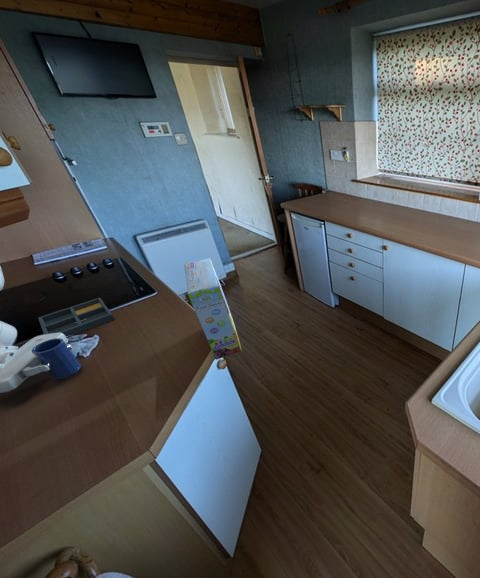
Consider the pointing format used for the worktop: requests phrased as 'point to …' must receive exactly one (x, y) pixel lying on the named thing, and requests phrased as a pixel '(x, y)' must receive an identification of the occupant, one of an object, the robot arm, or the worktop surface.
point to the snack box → (211, 308)
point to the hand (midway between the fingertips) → (60, 357)
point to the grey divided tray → (76, 318)
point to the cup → (57, 358)
